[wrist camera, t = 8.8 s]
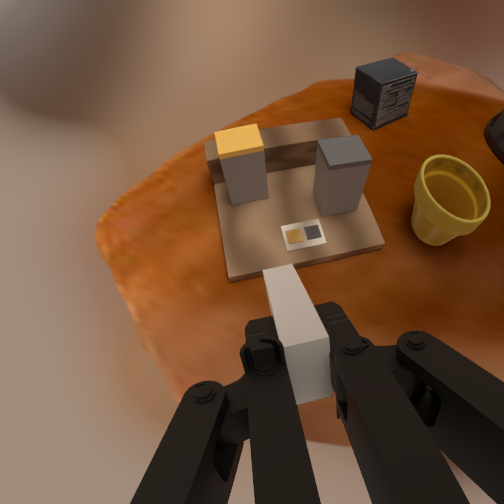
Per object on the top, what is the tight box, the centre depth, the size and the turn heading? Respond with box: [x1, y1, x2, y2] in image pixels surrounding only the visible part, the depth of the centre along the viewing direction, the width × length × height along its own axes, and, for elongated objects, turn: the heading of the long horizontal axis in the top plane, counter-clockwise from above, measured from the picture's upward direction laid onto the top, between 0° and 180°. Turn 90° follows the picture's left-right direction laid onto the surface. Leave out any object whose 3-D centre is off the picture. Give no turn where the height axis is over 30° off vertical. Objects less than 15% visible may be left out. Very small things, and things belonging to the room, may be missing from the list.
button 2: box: [215, 124, 269, 205], centre depth 37 cm, size 5×4×10 cm
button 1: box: [313, 135, 372, 217], centre depth 35 cm, size 5×4×10 cm
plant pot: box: [411, 155, 491, 246], centre depth 34 cm, size 10×10×10 cm
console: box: [204, 118, 385, 282], centre depth 39 cm, size 20×19×6 cm
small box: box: [350, 58, 418, 130], centre depth 45 cm, size 11×6×10 cm, turn 121°
